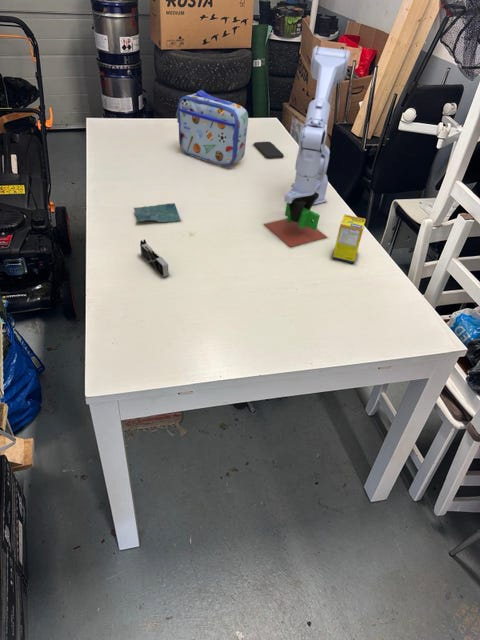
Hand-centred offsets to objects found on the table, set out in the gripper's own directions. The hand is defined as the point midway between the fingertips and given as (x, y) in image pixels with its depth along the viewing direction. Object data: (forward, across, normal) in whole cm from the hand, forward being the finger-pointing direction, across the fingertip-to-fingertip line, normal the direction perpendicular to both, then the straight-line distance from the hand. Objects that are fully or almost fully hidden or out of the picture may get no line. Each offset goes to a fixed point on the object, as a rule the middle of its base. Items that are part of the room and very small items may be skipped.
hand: (299, 218), depth 132 cm
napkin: (+5, 0, -1) cm, 5 cm away
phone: (+5, -41, -46) cm, 62 cm away
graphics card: (+5, +42, -14) cm, 44 cm away
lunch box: (+5, -18, -55) cm, 58 cm away
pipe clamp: (+2, 0, 0) cm, 2 cm away
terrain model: (+5, +26, -33) cm, 42 cm away
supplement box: (+5, 0, +17) cm, 17 cm away
